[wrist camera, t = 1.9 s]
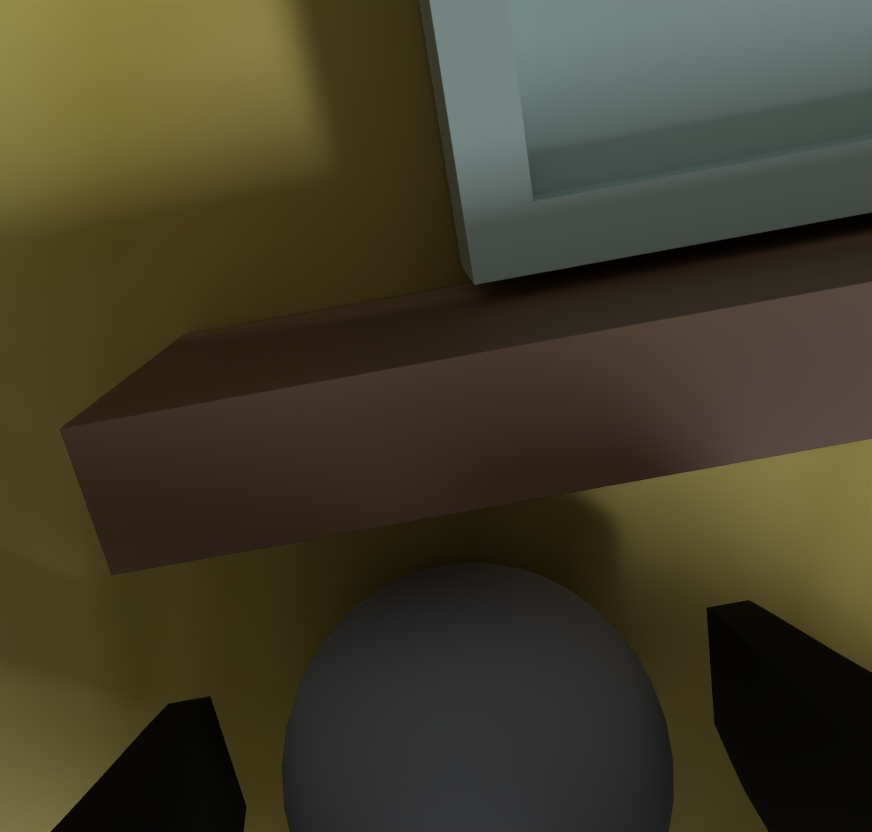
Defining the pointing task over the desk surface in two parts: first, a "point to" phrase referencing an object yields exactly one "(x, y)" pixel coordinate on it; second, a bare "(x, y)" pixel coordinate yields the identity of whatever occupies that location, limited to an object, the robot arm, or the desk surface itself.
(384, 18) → the desk surface
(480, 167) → the dish
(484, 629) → the ball
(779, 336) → the rail
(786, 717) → the robot arm
